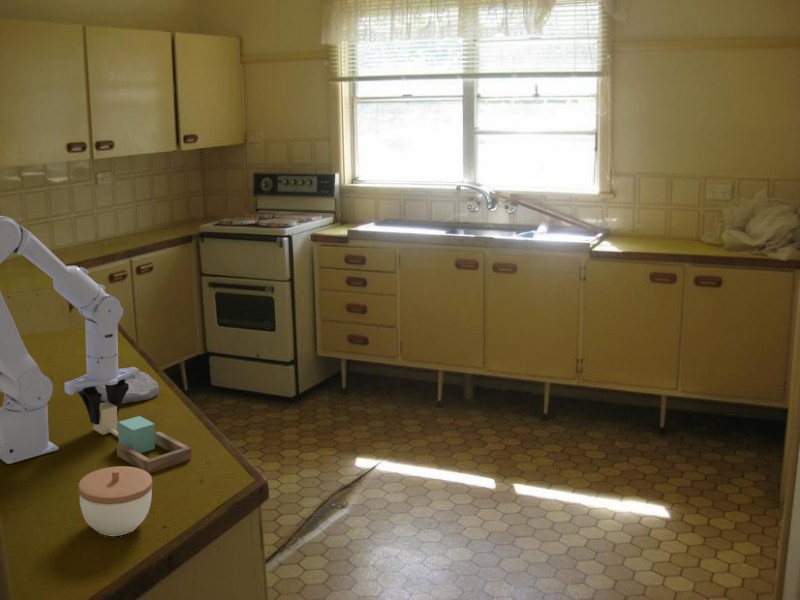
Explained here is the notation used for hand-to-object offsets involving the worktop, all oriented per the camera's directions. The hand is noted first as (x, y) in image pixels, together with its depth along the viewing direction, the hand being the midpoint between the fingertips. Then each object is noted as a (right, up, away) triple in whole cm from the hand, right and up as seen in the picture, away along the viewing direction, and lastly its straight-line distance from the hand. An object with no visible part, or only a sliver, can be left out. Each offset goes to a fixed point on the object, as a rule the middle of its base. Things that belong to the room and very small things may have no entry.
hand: (103, 420), depth 168 cm
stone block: (-1, +2, +18) cm, 18 cm away
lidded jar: (+14, -12, -35) cm, 39 cm away
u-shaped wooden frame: (+12, -5, -10) cm, 17 cm away
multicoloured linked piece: (+5, -3, -4) cm, 7 cm away
